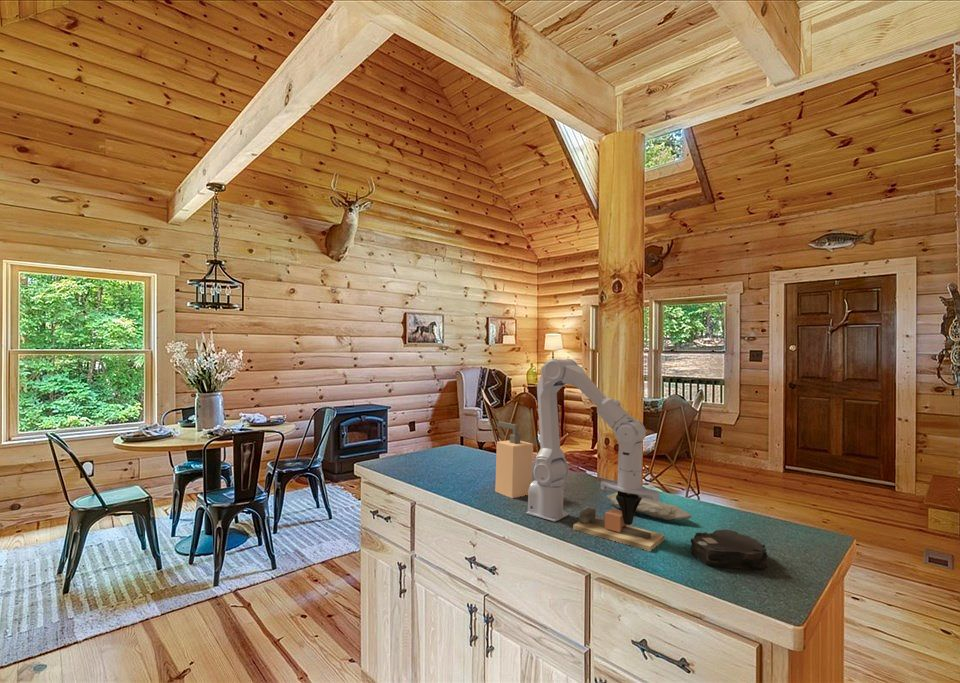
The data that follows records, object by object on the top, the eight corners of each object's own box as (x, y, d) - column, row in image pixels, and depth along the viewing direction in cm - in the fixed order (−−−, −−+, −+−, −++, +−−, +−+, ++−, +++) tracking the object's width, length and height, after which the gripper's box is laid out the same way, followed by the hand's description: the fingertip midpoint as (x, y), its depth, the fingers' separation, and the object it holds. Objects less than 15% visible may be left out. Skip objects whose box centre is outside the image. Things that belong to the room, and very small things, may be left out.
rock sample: (707, 540, 120) (707, 520, 120) (779, 560, 109) (779, 538, 110) (680, 560, 108) (680, 538, 108) (758, 585, 97) (758, 560, 97)
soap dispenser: (532, 494, 154) (534, 425, 154) (512, 498, 149) (514, 427, 149) (506, 484, 164) (508, 420, 165) (487, 488, 159) (489, 422, 160)
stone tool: (618, 485, 152) (699, 503, 134) (617, 501, 151) (698, 521, 134) (598, 491, 144) (681, 511, 126) (598, 508, 143) (681, 531, 125)
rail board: (573, 529, 124) (573, 513, 124) (590, 519, 132) (591, 505, 132) (650, 551, 111) (650, 534, 111) (664, 539, 119) (664, 523, 119)
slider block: (604, 528, 121) (605, 512, 121) (612, 523, 125) (612, 508, 125) (619, 532, 119) (620, 516, 119) (627, 527, 122) (627, 512, 122)
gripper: (664, 471, 119) (663, 527, 118) (609, 461, 128) (607, 512, 127) (654, 476, 113) (653, 534, 113) (597, 466, 122) (596, 519, 122)
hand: (628, 523), depth 120 cm, fingers closed
